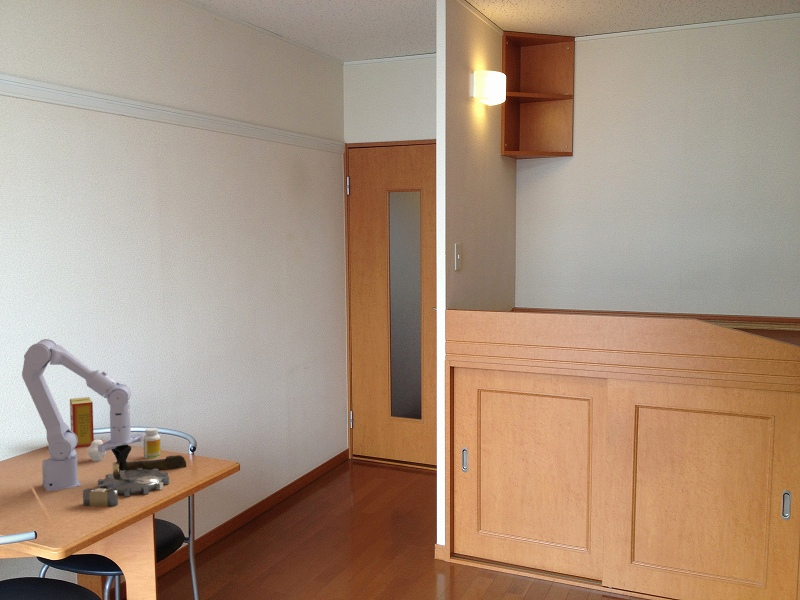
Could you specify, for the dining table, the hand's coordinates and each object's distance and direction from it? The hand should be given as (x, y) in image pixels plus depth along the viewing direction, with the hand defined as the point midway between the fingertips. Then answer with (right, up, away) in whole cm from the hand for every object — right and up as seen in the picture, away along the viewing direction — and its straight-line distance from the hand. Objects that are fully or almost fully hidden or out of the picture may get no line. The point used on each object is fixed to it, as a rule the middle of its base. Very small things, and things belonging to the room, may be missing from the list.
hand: (121, 469), depth 225 cm
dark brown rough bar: (+6, -3, +12) cm, 14 cm away
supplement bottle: (+1, -2, +26) cm, 26 cm away
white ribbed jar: (-16, -2, +22) cm, 28 cm away
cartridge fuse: (+1, -6, -19) cm, 20 cm away
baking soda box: (-29, 0, +41) cm, 50 cm away
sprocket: (+5, -4, -3) cm, 7 cm away
